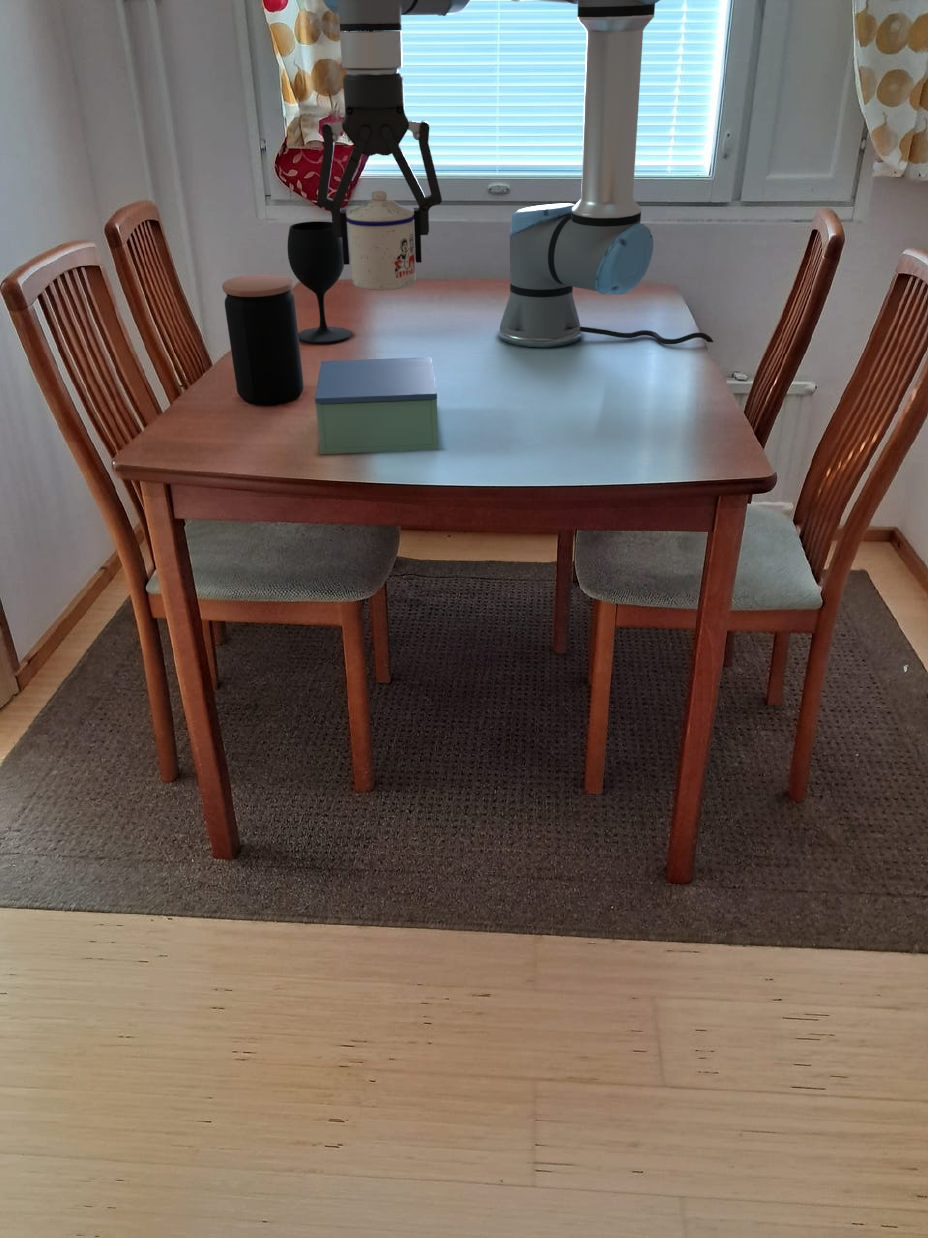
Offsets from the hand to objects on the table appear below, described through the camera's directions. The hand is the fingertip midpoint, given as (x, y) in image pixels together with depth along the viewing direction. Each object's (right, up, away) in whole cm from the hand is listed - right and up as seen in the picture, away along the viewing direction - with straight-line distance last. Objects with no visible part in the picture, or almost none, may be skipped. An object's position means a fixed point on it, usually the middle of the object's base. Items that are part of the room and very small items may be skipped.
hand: (382, 261), depth 131 cm
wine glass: (-16, +5, +53) cm, 55 cm away
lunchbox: (-1, -21, +11) cm, 24 cm away
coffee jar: (-20, -13, +25) cm, 34 cm away
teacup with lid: (0, -2, +2) cm, 3 cm away
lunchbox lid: (-2, -15, +7) cm, 16 cm away
